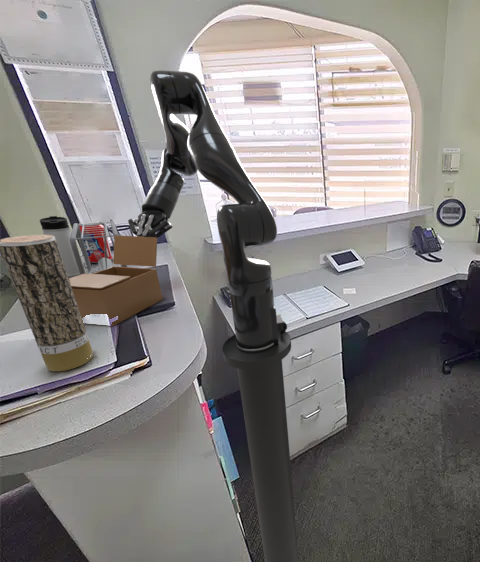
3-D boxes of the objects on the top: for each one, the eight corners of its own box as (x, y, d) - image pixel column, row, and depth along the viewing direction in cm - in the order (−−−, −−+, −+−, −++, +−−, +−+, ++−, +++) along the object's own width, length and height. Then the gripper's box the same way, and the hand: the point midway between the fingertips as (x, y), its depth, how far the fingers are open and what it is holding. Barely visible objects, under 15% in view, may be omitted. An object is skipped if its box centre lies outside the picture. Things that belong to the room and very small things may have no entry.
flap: (113, 264, 88) (114, 264, 88) (155, 266, 87) (156, 266, 87) (114, 235, 88) (115, 235, 88) (156, 237, 87) (157, 237, 87)
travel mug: (83, 272, 109) (66, 215, 102) (84, 277, 105) (66, 218, 98) (59, 275, 105) (39, 216, 98) (58, 281, 101) (37, 219, 94)
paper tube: (84, 349, 65) (44, 233, 57) (101, 358, 63) (62, 237, 54) (40, 366, 60) (-12, 239, 51) (57, 377, 57) (6, 245, 48)
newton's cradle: (88, 272, 110) (73, 222, 103) (125, 267, 116) (113, 219, 110) (88, 300, 88) (68, 239, 82) (133, 291, 95) (118, 234, 89)
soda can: (118, 259, 124) (108, 222, 119) (98, 265, 117) (86, 225, 112) (103, 257, 126) (92, 221, 121) (81, 263, 119) (69, 224, 114)
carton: (122, 296, 91) (113, 263, 88) (163, 299, 90) (155, 266, 87) (63, 322, 76) (50, 284, 72) (112, 326, 75) (100, 288, 71)
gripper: (188, 209, 98) (168, 256, 91) (150, 207, 99) (127, 254, 92) (173, 193, 92) (150, 243, 84) (132, 191, 93) (106, 240, 85)
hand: (138, 248), depth 88 cm, fingers closed
